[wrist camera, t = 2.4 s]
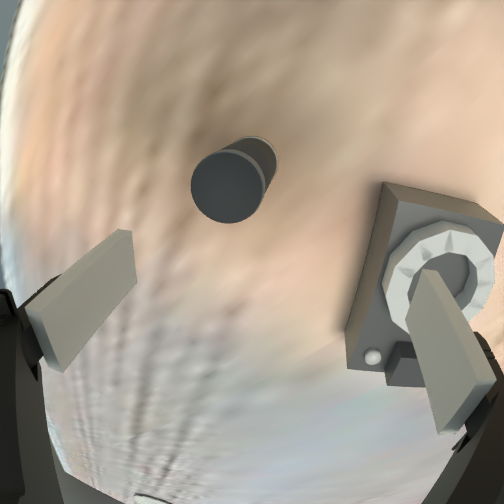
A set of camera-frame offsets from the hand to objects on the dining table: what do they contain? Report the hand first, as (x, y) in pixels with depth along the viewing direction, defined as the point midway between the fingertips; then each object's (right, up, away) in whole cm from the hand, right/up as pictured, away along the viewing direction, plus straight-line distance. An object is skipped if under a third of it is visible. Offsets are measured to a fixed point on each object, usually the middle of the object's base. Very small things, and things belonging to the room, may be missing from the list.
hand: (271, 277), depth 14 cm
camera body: (+16, -1, +18) cm, 24 cm away
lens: (-1, +9, +16) cm, 18 cm away
